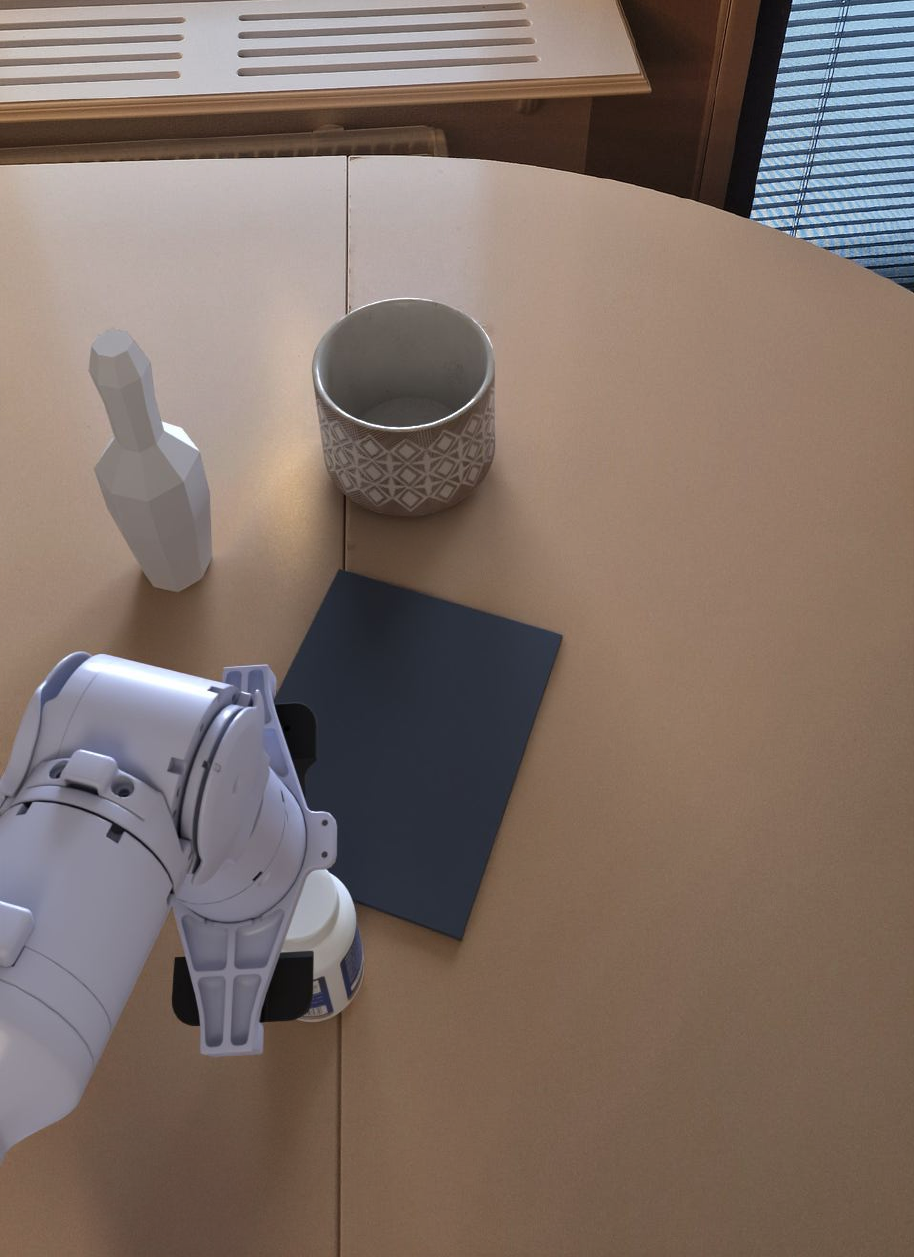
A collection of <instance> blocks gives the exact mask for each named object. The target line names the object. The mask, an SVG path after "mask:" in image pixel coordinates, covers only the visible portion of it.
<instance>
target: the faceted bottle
mask: <svg viewBox="0 0 914 1257" xmlns="http://www.w3.org/2000/svg"><path fill="white" fill-rule="evenodd" d="M89 354H90V356H89V363H88V373H89V375H90V377H91V379H92V382H93V384H94V386H95V388H96V390H97V392H98V394H99V396H100V398H101V401H102V403H103V405H104V409H105V411H106V415H107V418H108V421H109V424H110V428H111V430H112V433H113V434H112V435H113V436H112V437H111V439H110V440H109V442H108V444H107V446H106V447H105V449H104V451H103V452H102V453H101V455H100V457H99V459H98V461H97V462H96V464H95V465H94V467H93V470H94V472H95V477H96V480H97V482H98V485H99V488H100V492H101V495H102V497H103V500H104V503H105V506H106V508H107V511H108V513H109V515H110V516H111V517H112V520H113V521H114V523H115V524H116V527H117V528H118V530H119V532H120V533H121V536H122V537H123V539H124V540H125V542H126V544H127V546H128V548H129V549H130V551H131V553H132V555H133V556H134V558H135V561H136V562H137V564H138V565H139V567H140V569H141V570H142V572H143V573H144V575H145V576H146V578H147V579H148V581H149V582H150V584H151V586H152V587H153V588H157V589H161V590H167V591H169V592H173V593H180V592H182V591H183V590H185V589H187V588H188V587H190V586H191V585H194V584H195V583H197V582H198V581H200V580H202V579H203V578H204V576H205V573H206V571H207V569H208V567H209V565H210V563H211V561H212V559H213V537H212V536H213V535H212V514H211V512H212V511H211V492H210V488H209V484H208V479H207V475H206V472H205V466H204V463H203V459H202V454H201V450H199V448H198V447H197V446H196V445H195V443H194V442H193V440H191V438H190V437H189V435H188V434H187V433H186V432H185V430H184V429H183V428H182V427H180V426H177V425H174V424H171V423H168V422H164V421H163V420H162V417H161V413H160V409H159V406H158V402H157V399H156V392H155V384H154V377H153V367H152V362H151V360H150V358H149V357H148V356H147V354H146V353H145V352H144V351H143V349H142V348H141V346H140V345H139V344H138V342H137V341H136V340H135V338H133V336H132V335H131V334H130V333H129V331H128V330H126V329H120V328H115V327H112V328H110V329H108V330H105V331H103V332H101V333H99V334H98V335H97V336H96V338H95V339H94V341H93V342H92V344H91V347H90V353H89Z"/></svg>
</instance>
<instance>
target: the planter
mask: <svg viewBox="0 0 914 1257" xmlns="http://www.w3.org/2000/svg"><path fill="white" fill-rule="evenodd" d="M311 375H312V383H313V384H312V385H313V391H314V397H315V404H316V405H315V406H316V410H317V416H318V425H319V431H320V438H321V445H322V453H323V460H324V464H325V467H326V471H327V473H328V475H329V477H330V479H331V480H332V482H333V483H334V485H335V486H336V487H337V488H338V490H339V491H340V492H341V493H342V494H343V495H344V496H346V497H347V498H348V499H349V500H351V501H352V502H354V503H355V504H357V505H358V506H361V507H363V508H364V509H367V510H369V511H373V512H375V513H379V514H383V515H388V516H394V517H416V516H418V517H419V516H424V515H430V514H434V513H437V512H440V511H443V510H446V509H448V508H450V507H453V506H454V505H457V504H458V503H459V502H462V501H463V500H465V499H466V498H467V497H469V496H470V495H471V494H472V493H473V492H474V491H475V490H476V489H477V488H478V487H479V486H480V485H481V484H482V483H483V481H484V480H485V478H486V476H487V475H488V473H489V471H490V469H491V468H492V464H493V461H494V457H495V453H496V355H495V350H494V347H493V344H492V341H491V339H490V338H489V336H488V334H487V332H486V331H485V330H484V328H483V327H482V326H481V325H480V324H479V323H478V322H477V321H476V320H475V319H474V318H472V317H471V316H470V315H469V314H467V313H465V312H464V311H462V310H460V309H458V308H456V307H454V306H452V305H449V304H447V303H443V302H440V301H436V300H432V299H425V298H419V297H418V298H417V297H400V298H399V297H398V298H392V299H384V300H379V301H374V302H372V303H368V304H366V305H363V306H361V307H359V308H356V309H355V310H352V311H350V312H348V313H346V314H345V315H344V316H342V317H341V318H340V319H338V320H337V321H336V322H335V323H334V324H332V325H331V326H330V327H329V328H328V329H327V331H325V333H324V334H323V336H321V338H320V340H319V341H318V344H317V345H316V348H315V350H314V353H313V356H312V361H311Z"/></svg>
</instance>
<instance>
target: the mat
mask: <svg viewBox="0 0 914 1257" xmlns="http://www.w3.org/2000/svg"><path fill="white" fill-rule="evenodd" d="M563 637H564V635H563V634H561V633H558V632H555V631H551V630H548V629H545V628H541V627H538V626H534V625H531V624H528V623H526V622H525V623H524V622H521V621H518V620H514V619H512V618H507V617H505V616H501V615H497V614H494V613H490V612H488V611H484V610H481V609H477V608H474V607H470V606H467V605H463V604H460V603H457V602H454V601H450V600H447V599H444V598H441V597H436V596H433V595H430V594H428V593H427V594H426V593H423V592H420V591H417V590H413V589H409V588H408V587H407V588H406V587H403V586H400V585H396V584H392V583H389V582H387V581H383V580H380V579H376V578H373V577H370V576H366V575H362V574H360V573H356V572H352V571H350V570H346V569H342V568H338V569H337V571H336V573H335V576H334V578H333V579H332V582H331V583H330V585H329V588H328V589H327V592H326V594H325V596H324V598H323V600H322V602H321V603H320V605H319V608H318V610H317V612H316V613H315V616H314V618H313V619H312V622H311V624H310V625H309V628H308V629H307V631H306V634H305V636H304V638H303V640H302V642H301V644H300V646H299V648H298V650H297V652H296V654H295V655H294V658H293V660H292V662H291V664H290V666H289V668H288V670H287V672H286V674H285V676H284V678H283V679H282V682H281V684H280V686H279V688H278V690H277V691H276V696H275V699H274V700H273V702H274V704H278V703H293V702H297V703H302V704H305V705H307V706H308V707H310V708H311V710H312V711H313V712H314V714H315V715H316V717H317V721H318V749H317V761H315V762H314V763H313V764H312V765H311V766H310V767H309V768H308V770H307V771H306V798H305V802H306V805H307V808H308V809H309V810H310V811H313V812H327V813H330V814H331V815H332V816H333V818H334V819H335V820H336V824H337V857H336V861H335V863H334V864H333V865H332V866H331V867H330V868H327V869H326V870H327V871H328V872H329V873H331V874H332V875H334V876H335V877H336V878H338V879H339V880H340V881H341V882H342V883H343V885H344V886H345V887H346V889H347V890H348V892H349V894H350V896H351V898H352V901H353V903H356V904H359V905H361V906H364V907H367V908H369V909H372V910H374V911H377V912H380V913H383V914H385V915H388V916H391V917H394V918H396V919H399V920H401V921H405V922H407V923H410V924H413V925H415V926H418V927H421V928H424V929H426V930H428V931H431V932H435V933H437V934H440V935H442V936H445V937H448V938H451V939H453V940H456V941H459V942H462V941H463V938H464V934H465V932H466V929H467V926H468V923H469V920H470V917H471V914H472V911H473V908H474V905H475V902H476V899H477V896H478V893H479V890H480V887H481V884H482V881H483V878H484V875H485V872H486V869H487V866H488V864H489V860H490V857H491V855H492V851H493V849H494V848H493V847H494V845H495V841H496V839H497V837H498V833H499V831H500V827H501V824H502V821H503V818H504V816H505V812H506V809H507V807H508V803H509V800H510V797H511V794H512V792H513V788H514V784H515V782H516V779H517V776H518V773H519V770H520V767H521V764H522V761H523V758H524V755H525V752H526V749H527V746H528V743H529V740H530V737H531V734H532V732H533V728H534V725H535V723H536V719H537V716H538V713H539V710H540V707H541V705H542V701H543V698H544V695H545V692H546V689H547V686H548V683H549V680H550V677H551V675H552V672H553V668H554V665H555V662H556V659H557V655H558V653H559V650H560V647H561V645H562V641H563ZM327 824H328V823H326V824H325V826H326V825H327ZM327 855H328V854H327ZM327 855H325V856H324V858H326V857H327Z"/></svg>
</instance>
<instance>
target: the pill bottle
mask: <svg viewBox="0 0 914 1257" xmlns="http://www.w3.org/2000/svg"><path fill="white" fill-rule="evenodd" d="M298 951H313V952H314V970H313V998H312V1003H311V1006H310V1009H309V1012H308V1013H307V1014H305V1015H304V1016H302V1017H300V1018H298V1019H296V1021H301V1022H306V1023H317V1022H323V1021H326V1020H330V1019H332V1018H334V1017H335V1016H337V1015H339V1014H340V1013H341V1012H342V1011H344V1010H345V1009H346V1008H347V1007H348V1006H349V1005H350V1004H351V1003H352V1002H353V1000H354V998H355V997H356V996H357V994H358V992H359V990H360V988H361V985H362V984H363V983H362V982H363V979H364V974H365V954H364V949H363V944H362V938H361V933H360V928H359V922H358V918H357V912H356V909H355V904H354V902H353V901H352V898H351V896H350V894H349V892H348V890H347V889H346V887H345V886H344V885H343V883H342V882H341V881H340V880H339V879H338V878H336V877H335V876H334V875H332V874H331V873H329V872H328V871H327V870H326V869H324V870H315V871H312V872H311V873H310V874H309V875H308V876H307V878H306V881H305V884H304V887H303V889H302V892H301V895H300V898H299V901H298V904H297V907H296V910H295V912H294V915H293V918H292V921H291V924H290V927H289V930H288V933H287V935H286V938H285V941H284V944H283V947H282V950H281V952H298Z"/></svg>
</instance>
